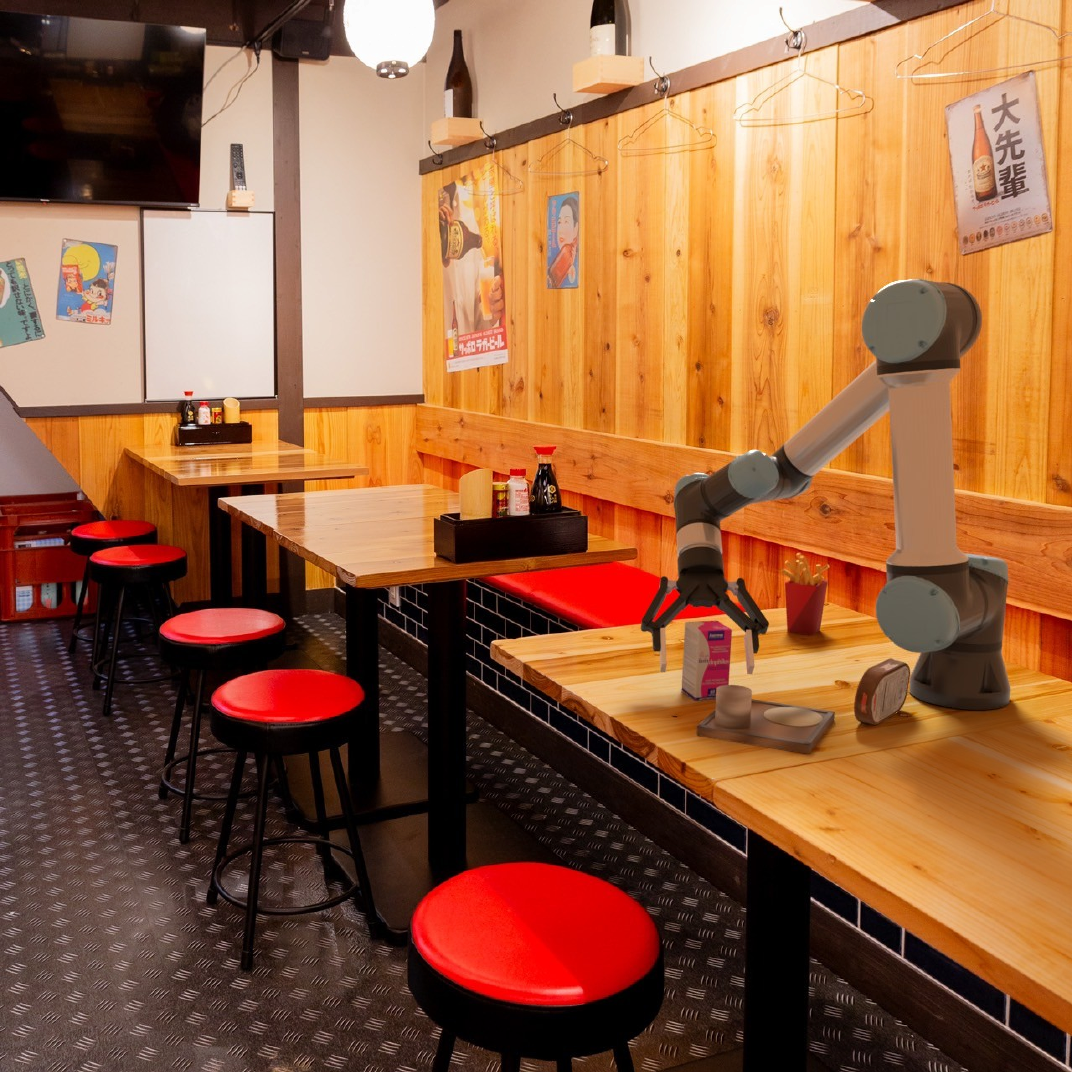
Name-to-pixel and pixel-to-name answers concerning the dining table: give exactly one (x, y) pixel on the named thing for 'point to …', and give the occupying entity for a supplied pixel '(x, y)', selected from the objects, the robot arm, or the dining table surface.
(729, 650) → the supplement box
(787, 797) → the dining table surface
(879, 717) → the tin
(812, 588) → the french fries
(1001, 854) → the dining table surface
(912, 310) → the robot arm
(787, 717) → the board
